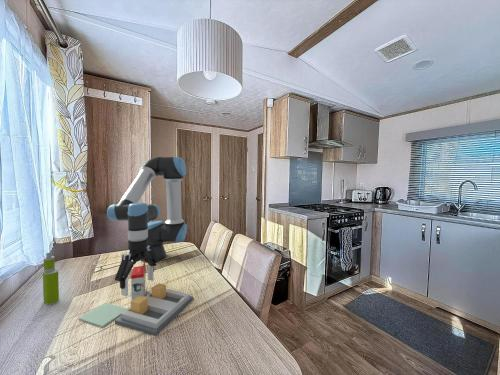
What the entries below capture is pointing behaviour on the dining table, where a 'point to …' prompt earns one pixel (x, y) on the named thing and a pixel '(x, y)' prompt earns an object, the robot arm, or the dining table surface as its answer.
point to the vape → (50, 280)
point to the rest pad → (102, 314)
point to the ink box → (138, 282)
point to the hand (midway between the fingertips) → (138, 287)
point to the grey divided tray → (156, 313)
